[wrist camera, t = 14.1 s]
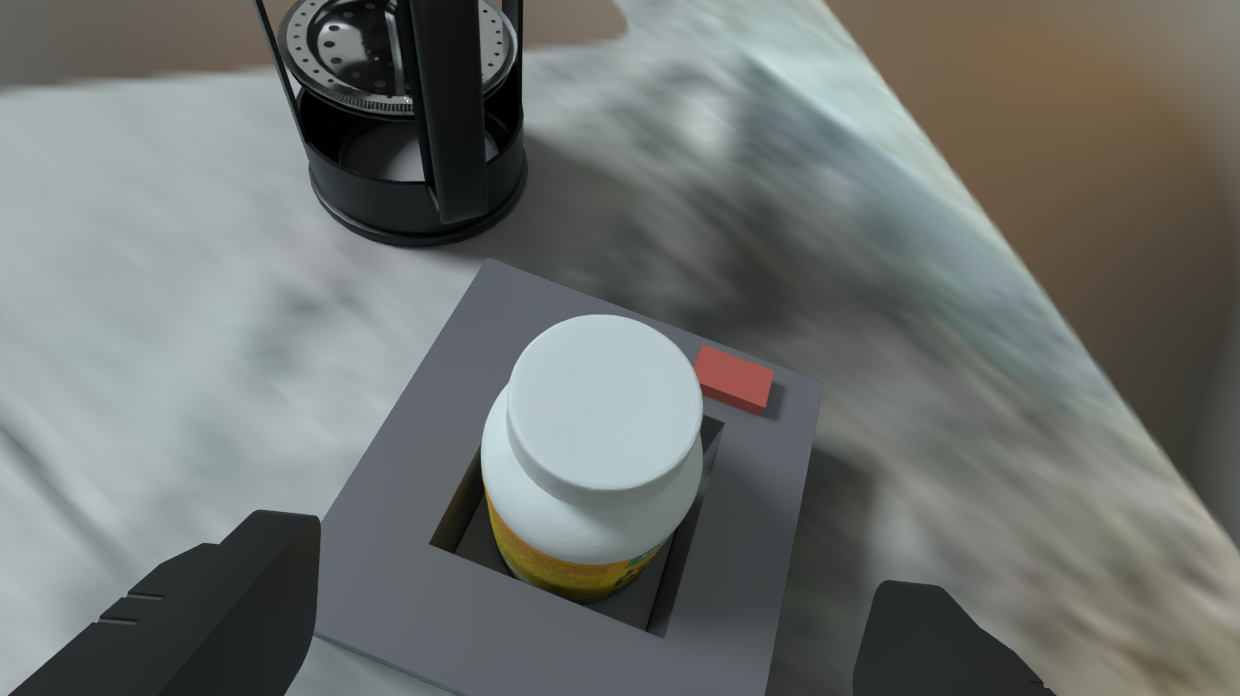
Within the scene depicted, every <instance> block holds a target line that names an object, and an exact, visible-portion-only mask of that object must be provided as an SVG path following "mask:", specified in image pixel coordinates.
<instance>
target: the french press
mask: <svg viewBox="0 0 1240 696" xmlns="http://www.w3.org/2000/svg"><path fill="white" fill-rule="evenodd" d="M252 1H253V4H254V7H255V10H256V12H257V15H258V18H259V21H260V24H261V26H262V30H263V32H264V35H265V38H266V40H267V43H268V47H269V49H270V52H271V55H272V58H273V61H274V63H275V66H276V69H277V72H278V75H279V78H280V80H281V83H282V86H283V89H284V92H285V95H286V97H287V100H288V103H289V106H290V109H291V112H292V114H293V117H294V120H295V123H296V126H297V129H298V131H299V134H300V137H301V140H302V143H303V146H304V148H305V151H306V154H307V157H308V160H309V169H308V170H309V175H310V180H311V185H312V188H313V190H314V192H315V194H316V196H317V198H318V200H319V202H320V204H321V205H322V206H323V207H324V208H325V209H326V211H327V212H328V213H329V214H330V215H331V216H332V217H333V218H334V219H335V220H337V221H338V222H339V223H341V224H342V225H344V226H345V227H346V228H348V229H349V230H351V231H353V232H356V233H358V234H360V235H362V236H364V237H366V238H369V239H372V240H376V241H380V242H383V243H387V244H392V245H401V246H410V247H421V246H438V245H443V244H449V243H454V242H459V241H462V240H464V239H467V238H470V237H473V236H476V235H478V234H480V233H482V232H484V231H486V230H487V229H489V228H491V227H493V226H495V225H496V224H497V223H498V222H499V221H501V220H502V219H503V218H504V217H506V216H507V215H508V214H509V213H510V211H511V210H512V209H513V208H514V206H515V205H516V204H517V203H518V201H519V199H520V197H521V195H522V193H523V190H524V188H525V185H526V179H527V172H528V166H527V159H526V153H525V150H524V148H523V120H524V114H523V106H522V43H523V40H522V39H523V38H522V37H523V0H502V11H501V9H500V8H498V7H497V6H496V5H495V4H493V3H492V2H491V1H490V0H298V1H297V2H296V3H295V4H294V5H293V6H292V7H291V8H290V9H289V10H288V11H287V13H286V14H285V16H284V18H283V20H282V22H281V24H280V26H279V31H278V37H277V41H278V46H279V49H278V46H277V43H276V40H275V37H274V34H273V31H272V29H271V26H270V23H269V20H268V17H267V14H266V11H265V8H264V5H263V2H262V0H252ZM281 57H282V58H281ZM282 59H283V60H284V62H285V64H286V66H287V68H288V69H289V70H290V72H291V73H292V75H293V76H294V78H295V79H296V80H297V81H298V83H299V84H300V85H301V86H302V87H301V89H300V91H299V93H298V96H297V98H296V99H295V96H294V93H293V90H292V87H291V84H290V81H289V78H288V76H287V73H286V70H285V67H284V64H283V61H282ZM379 120H384V121H391V122H416V127H417V134H418V140H419V146H420V153H421V159H422V165H423V172H424V178H425V181H404V182H401V181H393V180H385V179H378V178H374V177H371V176H367V175H363V174H359V173H356V172H354V171H352V170H349V169H347V168H345V167H343V166H341V158H342V155H343V152H344V150H345V147H346V146H347V145H348V143H349V142H350V140H351V139H352V138H353V137H354V136H355V135H356V134H357V133H358V132H360V131H361V130H362V129H364V128H365V127H367V126H368V125H370V124H372V123H374V122H376V121H379ZM485 136H486V137H488V138H489V140H490V141H491V143H492V144H493V145H494V147H495V149H496V152H497V155H496V156H494V157H493V158H492V159H490V160H489V161H488V162H486V150H485Z"/></svg>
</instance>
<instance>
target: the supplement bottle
mask: <svg viewBox="0 0 1240 696" xmlns="http://www.w3.org/2000/svg"><path fill="white" fill-rule="evenodd" d="M703 413H704V412H703V398H702V392H701V388H700V384H699V381H698V378H697V375H696V373H695V370H694V368H693V367H692V365H691V363H690V362H689V360H688V359H687V357H686V356H685V355H684V353H683V352H682V351H681V350H680V349H679V348H678V346H677V345H676V344H674V343H673V342H672V341H671V340H670V339H669V338H667V337H666V336H664V335H663V334H662V333H660V332H659V331H657V330H655V329H654V328H652V327H650V326H648V325H646V324H644V323H641V322H639V321H636V320H633V319H630V318H625V317H621V316H616V315H586V316H579V317H575V318H571V319H568V320H566V321H563V322H560V323H558V324H556V325H554V326H552V327H550V328H549V329H547V330H546V331H544V332H543V333H541V334H540V335H539V336H538V337H536V338H535V339H534V340H533V341H532V342H531V343H530V344H529V345H528V346H527V347H526V349H525V350H524V351H523V352H522V354H521V356H520V357H519V359H518V361H517V362H516V364H515V366H514V369H513V371H512V374H511V377H510V380H509V383H508V384H507V385H506V386H505V388H504V389H503V390H502V391H501V393H500V394H499V396H498V397H497V399H496V401H495V402H494V404H493V406H492V408H491V410H490V412H489V415H488V418H487V420H486V423H485V427H484V431H483V436H482V444H481V467H482V479H483V483H484V487H485V493H486V498H487V503H488V509H489V514H490V521H491V526H492V533H493V538H494V542H495V546H496V549H497V552H498V555H499V557H500V559H501V561H502V563H503V565H504V567H505V569H506V571H507V572H508V573H509V575H510V576H511V577H512V578H514V579H516V580H519V581H521V582H524V583H526V584H529V585H531V586H534V587H536V588H539V589H541V590H543V591H546V592H548V593H551V594H553V595H556V596H558V597H561V598H563V599H566V600H568V601H571V602H573V603H576V604H578V605H581V606H588V605H592V604H596V603H599V602H602V601H605V600H607V599H609V598H611V597H613V596H615V595H617V594H619V593H620V592H622V591H623V590H625V589H626V588H627V587H628V586H629V585H631V584H632V583H633V582H634V581H635V580H636V578H637V577H638V576H639V575H640V574H641V572H642V571H643V570H644V568H645V567H646V566H647V564H648V563H649V562H650V561H651V559H652V558H653V557H654V556H655V555H656V553H657V552H658V550H659V549H660V548H661V547H662V546H663V544H664V543H665V542H666V541H667V539H668V538H669V537H670V535H671V534H672V533H673V532H674V531H675V529H676V528H677V527H678V525H679V524H680V523H681V521H682V520H683V519H684V517H685V516H686V514H687V512H688V510H689V509H690V507H691V505H692V503H693V501H694V499H695V496H696V493H697V490H698V487H699V484H700V479H701V474H702V465H703V450H702V442H701V436H700V429H701V424H702V418H703Z"/></svg>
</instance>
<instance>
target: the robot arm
mask: <svg viewBox="0 0 1240 696" xmlns="http://www.w3.org/2000/svg"><path fill="white" fill-rule="evenodd" d="M320 544H321V524H320V520H319V518H318V517H317V516H315V515H306V514H297V513H288V512H279V511H269V510H256V511H254V512H253V513H252V514H250V515H249V516H248V517H247V518H246V519H245V520H244V521H243V522H242V523H241V524H240V525H239V526H238V527H237V528H236V529H235V530H234V531H232V532H231V533H230V534H229V535H228V536H227V537H226V538H225V539H224V540H223V541H222V542H221V543H220V544H210V543H202V544H200V545H198V546H196V547H194V548H192V549H190V550H188V551H186V552H184V553H182V554H180V555H178V556H175V557H173V558H171V559H169V560H167V561H165V562H163V563H161V564H160V565H158V566H157V567H156V568H155V569H154V570H153V571H151V572H150V573H149V574H148V575H147V576H146V577H145V578H143V579H142V580H141V581H140V582H139V583H138V584H136V585H135V586H134V587H133V588H132V589H131V590H129V591H128V595H127V597H126V598H123V597H121V598H120V599H119V600H118V601H117V602H116V603H114V604H113V605H112V606H111V607H110V608H109V609H107V610H106V611H105V612H104V613H103V614H102V615H101V616H100V619H99V621H98V622H97V623H94V622H92V623H91V624H90V625H89V626H88V627H87V628H86V629H84V630H83V631H82V632H81V633H80V634H79V635H77V636H76V637H75V638H74V639H73V640H72V641H70V642H69V643H68V644H67V645H66V646H65V647H64V648H62V649H61V650H60V651H59V652H58V653H57V654H55V655H54V656H53V657H52V658H51V659H50V660H48V661H47V662H46V663H45V664H44V665H43V666H42V667H40V668H39V669H38V670H37V671H36V672H35V673H33V674H32V675H31V676H30V677H29V678H28V679H27V680H25V681H24V682H23V683H22V684H21V685H20V686H18V687H17V688H16V689H15V690H14V691H13V692H11V693H10V694H9V695H8V696H284V694H285V693H286V691H287V689H288V688H289V686H290V684H291V683H292V681H293V679H294V678H295V676H296V674H297V673H298V671H299V669H300V668H301V666H302V664H303V662H304V660H305V657H306V655H307V652H308V649H309V647H310V643H311V640H312V636H313V632H314V628H315V622H316V613H317V596H318V579H319V561H320ZM853 694H854V696H1056V695H1055V694H1054V693H1053V692H1052V691H1051V690H1050V689H1049V688H1044V686H1043V681H1042V680H1041V679H1040V678H1039V677H1038V676H1037V675H1036V674H1035V673H1034V672H1033V671H1032V670H1031V669H1030V668H1029V667H1028V666H1027V664H1026V663H1025V662H1024V661H1023V660H1022V659H1021V658H1020V657H1019V656H1018V655H1017V654H1016V653H1015V652H1014V651H1013V650H1011V649H1010V648H1008V647H1007V646H1005V645H1004V644H1003V643H1001V642H1000V641H998V640H997V639H996V638H994V637H993V636H991V635H990V634H989V633H987V632H986V631H984V630H983V629H981V628H980V627H979V626H978V625H977V624H976V623H975V622H974V621H973V620H972V619H971V617H970V616H969V615H968V614H967V613H966V612H965V611H964V610H963V609H962V608H961V607H960V606H959V605H958V603H957V602H956V601H955V600H954V599H953V598H952V597H951V596H950V595H949V594H948V593H947V592H946V591H945V590H944V589H943V588H941V587H940V586H937V585H930V584H920V583H911V582H902V581H893V580H886V581H884V582H882V583H881V584H880V585H879V587H878V588H877V590H876V593H875V596H874V599H873V603H872V607H871V610H870V614H869V617H868V621H867V625H866V628H865V632H864V635H863V639H862V643H861V646H860V650H859V654H858V657H857V661H856V664H855V668H854V674H853Z"/></svg>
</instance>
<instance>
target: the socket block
mask: <svg viewBox="0 0 1240 696" xmlns="http://www.w3.org/2000/svg"><path fill="white" fill-rule="evenodd" d="M586 315H616V316H621V317H625V318H630V319H633V320H636V321H639V322H641V323H644V324H646V325H648V326H650V327H652V328H654V329H655V330H657V331H659V332H660V333H662V334H663V335H664V336H666V337H667V338H669V339H670V340H671V341H672V342H673V343H674V344H676V345H677V346H678V348H679V349H680V350H681V351H682V352H683V353H684V355H685V356H686V357H687V359H688V360H689V362H690V363H691V365H692V367H693V368H694V370H695V373H696V375H697V378H698V381H699V384H700V388H701V392H702V398H703V412H704V413H703V418H702V424H701V429H700V436H701V442H702V450H703V465H702V474H701V479H700V484H699V487H698V490H697V493H696V496H695V499H694V501H693V503H692V505H691V507H690V509H689V510H688V512H687V514H686V516H685V517H684V519H683V520H682V521H681V523H680V524H679V525H678V527H677V528H676V529H675V530H676V531H674V532H673V533H672V534H671V535H670V537H669V538H668V539H667V541H666V542H665V543H664V544H663V546H662V547H661V548H660V549H659V550H658V552H657V553H656V555H655V556H654V557H653V558H652V559H651V561H650V562H649V563H648V564H647V566H646V567H645V568H644V570H643V571H642V572H641V574H640V575H639V576H638V577H637V578H636V580H635V581H634V582H633V583H632V584H631V585H629V586H628V587H627V588H626V589H625V590H623V591H622V592H620V593H619V594H617V595H615V596H613V597H611V598H609V599H607V600H605V601H602V602H599V603H596V604H592V605H588V606H581V605H578V604H576V603H573V602H571V601H568V600H566V599H563V598H561V597H558V596H556V595H553V594H551V593H548V592H546V591H543V590H541V589H539V588H536V587H534V586H531V585H529V584H526V583H524V582H521V581H519V580H516V579H514V578H512V577H511V576H510V575H509V573H508V572H507V571H506V569H505V567H504V565H503V563H502V561H501V559H500V557H499V555H498V552H497V549H496V546H495V542H494V538H493V533H492V526H491V521H490V514H489V509H488V503H487V498H486V493H485V487H484V483H483V479H482V467H481V444H482V436H483V431H484V427H485V423H486V420H487V418H488V415H489V412H490V410H491V408H492V406H493V404H494V402H495V401H496V399H497V397H498V396H499V394H500V393H501V391H502V390H503V389H504V388H505V386H506V385H507V384H508V383H509V380H510V377H511V374H512V371H513V369H514V366H515V364H516V362H517V361H518V359H519V357H520V356H521V354H522V352H523V351H524V350H525V349H526V347H527V346H528V345H529V344H530V343H531V342H532V341H533V340H534V339H535V338H536V337H538V336H539V335H540V334H541V333H543V332H544V331H546V330H547V329H549V328H550V327H552V326H554V325H556V324H558V323H560V322H563V321H566V320H568V319H571V318H575V317H579V316H586ZM823 385H824V382H822V381H819V380H816V379H814V378H811V377H808V376H806V375H803V374H800V373H797V372H795V371H792V370H789V369H787V368H784V367H781V366H779V365H776V364H773V363H771V362H768V361H765V360H762V359H760V358H757V357H754V356H752V355H749V354H746V353H744V352H741V351H738V350H736V349H733V348H730V347H728V346H725V345H722V344H719V343H717V342H714V341H711V340H709V339H706V338H703V337H701V336H698V335H695V334H693V333H690V332H687V331H684V330H682V329H679V328H676V327H674V326H671V325H668V324H666V323H663V322H660V321H658V320H655V319H652V318H649V317H647V316H644V315H641V314H639V313H636V312H633V311H631V310H628V309H625V308H623V307H620V306H617V305H615V304H612V303H609V302H606V301H604V300H601V299H598V298H596V297H593V296H590V295H588V294H585V293H582V292H580V291H577V290H574V289H571V288H569V287H566V286H563V285H561V284H558V283H555V282H553V281H550V280H547V279H545V278H542V277H539V276H536V275H534V274H531V273H528V272H526V271H523V270H520V269H518V268H515V267H512V266H510V265H507V264H504V263H502V262H499V261H496V260H493V259H491V258H488V257H487V259H486V261H485V262H484V264H483V265H482V267H481V269H480V270H479V272H478V273H477V275H476V277H475V278H474V280H473V281H472V283H471V285H470V286H469V288H468V289H467V291H466V293H465V294H464V296H463V297H462V299H461V300H460V302H459V304H458V305H457V307H456V308H455V310H454V312H453V313H452V315H451V316H450V318H449V320H448V321H447V323H446V324H445V326H444V328H443V329H442V331H441V332H440V334H439V336H438V337H437V339H436V340H435V342H434V344H433V345H432V347H431V348H430V350H429V352H428V353H427V355H426V356H425V358H424V359H423V361H422V363H421V364H420V366H419V367H418V369H417V371H416V372H415V374H414V375H413V377H412V379H411V380H410V382H409V383H408V385H407V387H406V388H405V390H404V391H403V393H402V395H401V396H400V398H399V399H398V401H397V403H396V404H395V406H394V407H393V409H392V410H391V412H390V414H389V415H388V417H387V418H386V420H385V422H384V423H383V425H382V426H381V428H380V430H379V431H378V433H377V434H376V436H375V438H374V439H373V441H372V442H371V444H370V446H369V447H368V449H367V450H366V452H365V454H364V455H363V457H362V458H361V460H360V461H359V463H358V465H357V466H356V468H355V469H354V471H353V473H352V474H351V476H350V477H349V479H348V481H347V482H346V484H345V485H344V487H343V489H342V490H341V492H340V493H339V495H338V497H337V498H336V500H335V501H334V503H333V505H332V506H331V508H330V509H329V511H328V513H327V514H326V516H325V517H324V519H323V520H322V522H321V544H320V561H319V579H318V596H317V613H316V622H315V628H314V632H313V635H315V636H317V637H319V638H322V639H324V640H327V641H329V642H331V643H334V644H336V645H339V646H341V647H343V648H346V649H348V650H351V651H353V652H355V653H358V654H360V655H363V656H365V657H367V658H370V659H372V660H375V661H377V662H379V663H382V664H384V665H386V666H389V667H391V668H394V669H396V670H398V671H401V672H403V673H406V674H408V675H410V676H413V677H415V678H418V679H420V680H422V681H425V682H427V683H430V684H432V685H434V686H437V687H439V688H442V689H444V690H446V691H449V692H451V693H453V694H456V695H458V696H765V691H766V686H767V681H768V676H769V670H770V665H771V660H772V654H773V649H774V644H775V639H776V633H777V628H778V623H779V618H780V612H781V607H782V602H783V596H784V591H785V586H786V581H787V575H788V570H789V565H790V559H791V554H792V549H793V544H794V538H795V533H796V528H797V522H798V517H799V512H800V507H801V501H802V496H803V491H804V486H805V480H806V475H807V470H808V464H809V459H810V454H811V449H812V443H813V438H814V433H815V427H816V422H817V417H818V412H819V406H820V401H821V396H822V391H823ZM674 533H675V534H674ZM673 537H674V538H673ZM672 540H673V541H672ZM671 543H672V544H671ZM670 547H671V548H670ZM669 550H670V551H669ZM668 553H669V555H668ZM667 557H668V558H667ZM666 560H667V561H666ZM665 563H666V565H665ZM664 567H665V568H664ZM663 570H664V571H663ZM662 573H663V575H662ZM661 577H662V578H661ZM660 580H661V581H660ZM659 583H660V585H659ZM658 587H659V588H658ZM657 590H658V591H657ZM656 593H657V595H656ZM655 597H656V598H655ZM654 600H655V601H654ZM653 603H654V605H653ZM652 607H653V608H652ZM651 610H652V611H651ZM650 613H651V615H650ZM649 617H650V618H649ZM648 620H649V621H648ZM647 623H648V625H647ZM646 627H647V628H646ZM645 630H646V631H645Z"/></svg>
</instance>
